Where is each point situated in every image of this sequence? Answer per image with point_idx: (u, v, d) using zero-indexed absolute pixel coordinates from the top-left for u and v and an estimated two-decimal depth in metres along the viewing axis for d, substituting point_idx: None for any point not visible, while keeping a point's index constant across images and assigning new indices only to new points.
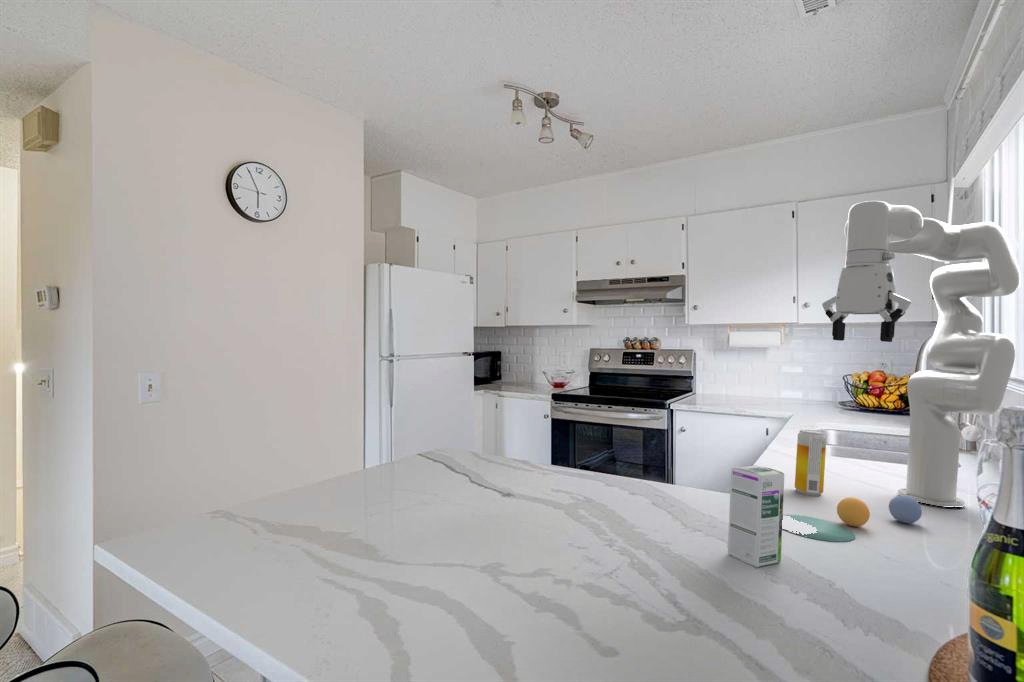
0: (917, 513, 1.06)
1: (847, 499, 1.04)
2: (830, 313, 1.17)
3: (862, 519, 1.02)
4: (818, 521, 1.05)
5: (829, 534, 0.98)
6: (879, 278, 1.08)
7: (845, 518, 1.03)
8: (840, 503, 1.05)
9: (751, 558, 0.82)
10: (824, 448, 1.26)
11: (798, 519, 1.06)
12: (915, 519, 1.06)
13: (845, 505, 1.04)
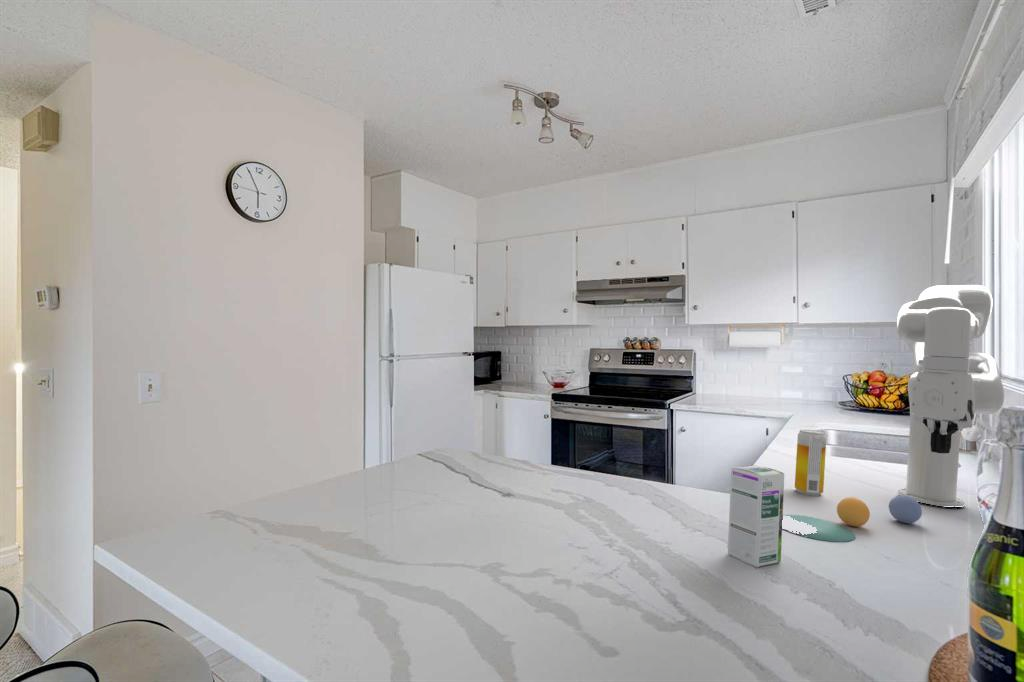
0: (917, 513, 1.06)
1: (847, 499, 1.04)
2: None
3: (862, 519, 1.02)
4: (818, 521, 1.05)
5: (829, 534, 0.98)
6: None
7: (845, 518, 1.03)
8: (840, 503, 1.05)
9: (751, 558, 0.82)
10: (824, 448, 1.26)
11: (798, 519, 1.06)
12: (915, 519, 1.06)
13: (845, 505, 1.04)
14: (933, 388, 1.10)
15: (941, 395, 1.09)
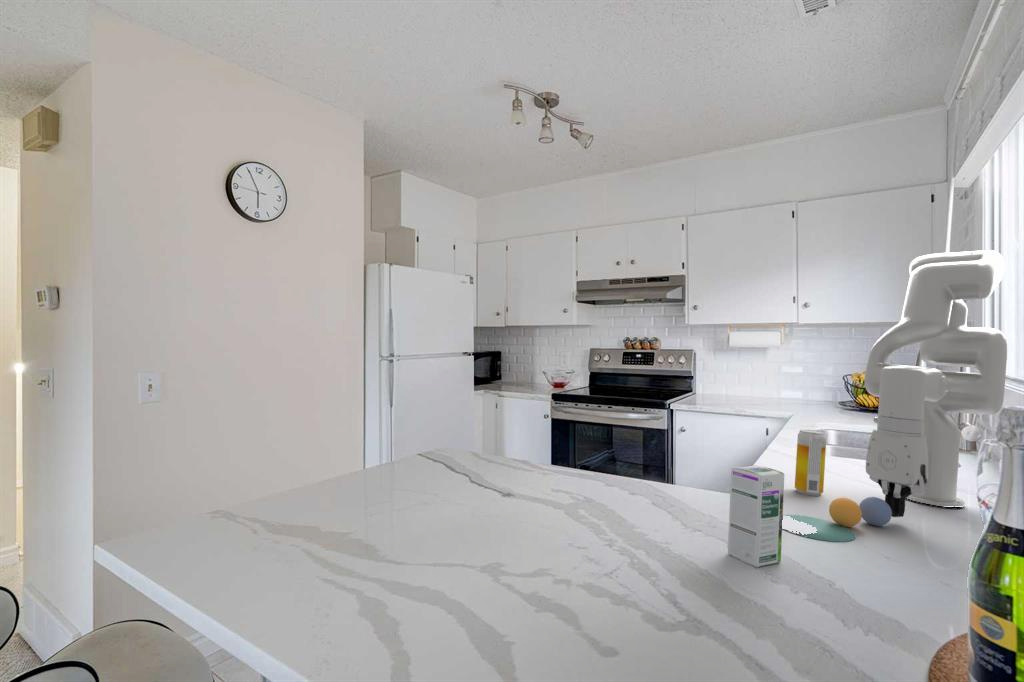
0: (889, 517, 1.03)
1: (834, 507, 1.03)
2: None
3: (857, 521, 1.01)
4: (818, 521, 1.05)
5: (829, 534, 0.98)
6: None
7: (842, 525, 1.03)
8: (830, 512, 1.04)
9: (751, 558, 0.82)
10: (824, 448, 1.26)
11: (798, 519, 1.06)
12: (889, 509, 1.04)
13: (835, 515, 1.03)
14: (887, 450, 1.07)
15: (894, 457, 1.05)
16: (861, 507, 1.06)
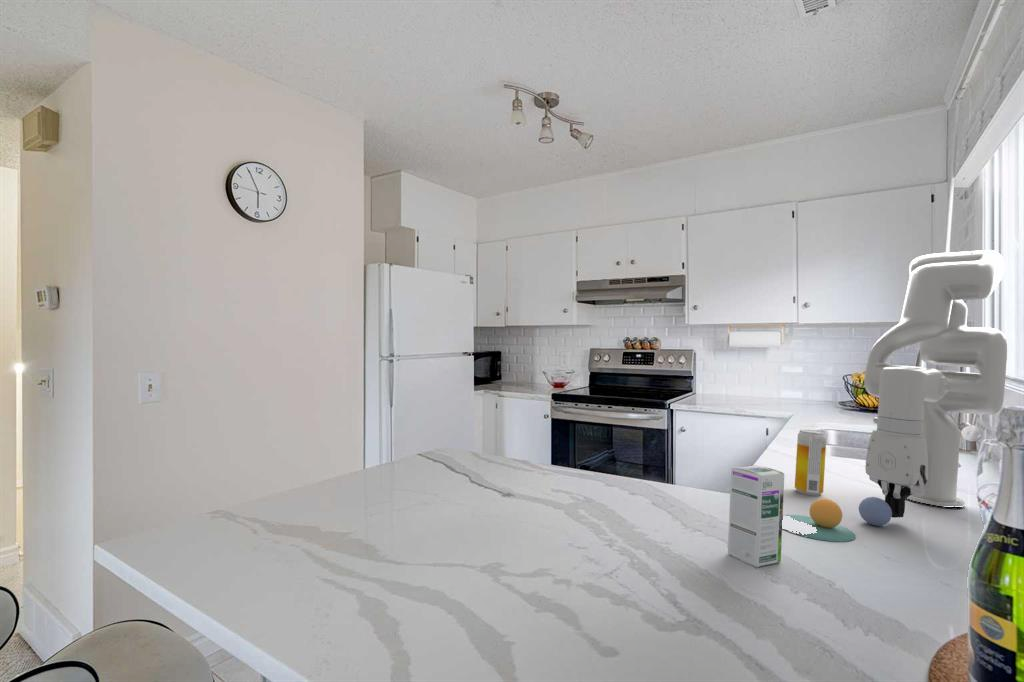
0: (889, 517, 1.03)
1: None
2: None
3: (841, 516, 1.00)
4: None
5: (829, 534, 0.98)
6: None
7: None
8: None
9: (751, 558, 0.82)
10: (824, 448, 1.26)
11: (798, 519, 1.06)
12: (889, 509, 1.04)
13: None
14: (886, 450, 1.07)
15: (894, 458, 1.05)
16: (861, 507, 1.06)
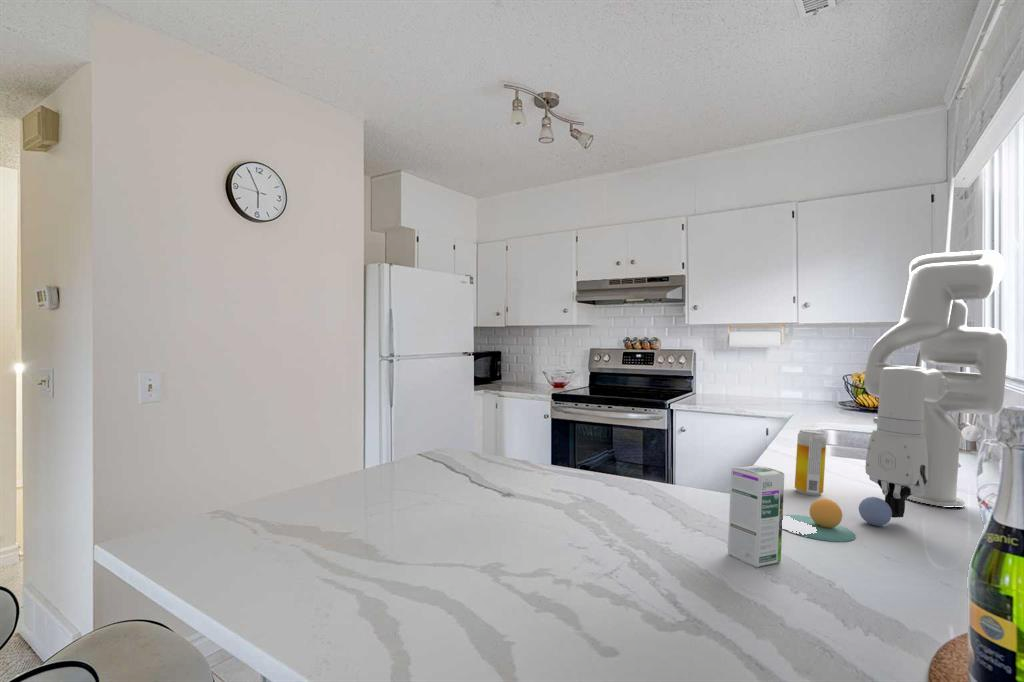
0: (889, 517, 1.03)
1: None
2: None
3: (840, 516, 1.00)
4: None
5: (829, 534, 0.98)
6: None
7: None
8: None
9: (751, 558, 0.82)
10: (824, 448, 1.26)
11: (798, 519, 1.06)
12: (889, 509, 1.04)
13: None
14: (886, 450, 1.07)
15: (894, 458, 1.05)
16: (861, 507, 1.06)
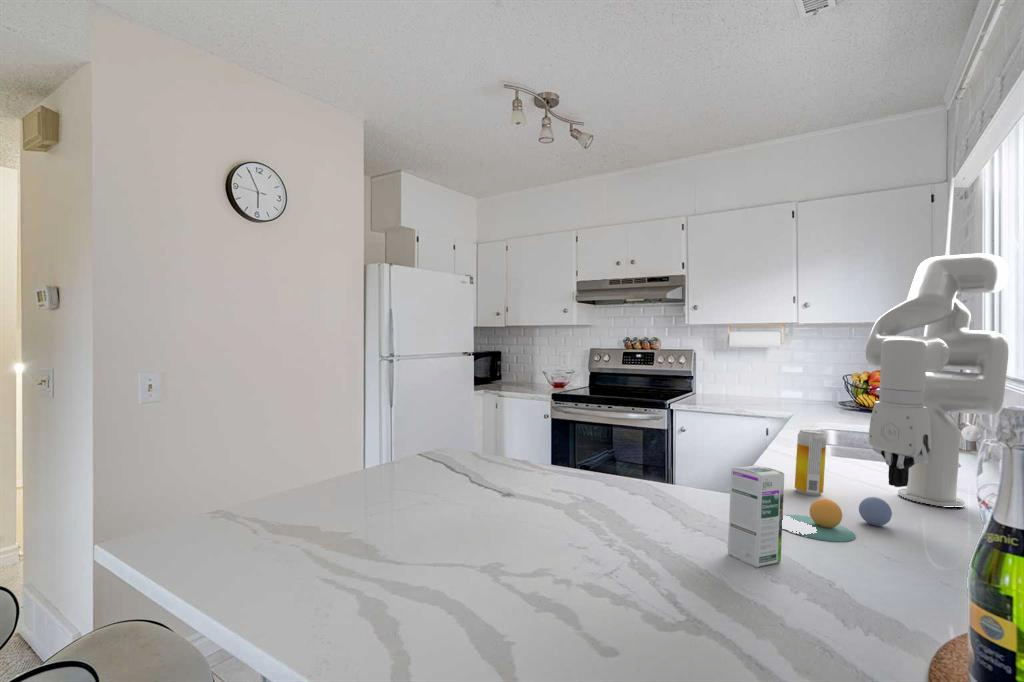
0: (889, 517, 1.03)
1: None
2: None
3: (840, 516, 1.00)
4: None
5: (829, 534, 0.98)
6: None
7: None
8: None
9: (751, 558, 0.82)
10: (824, 448, 1.26)
11: (798, 519, 1.06)
12: (889, 509, 1.04)
13: None
14: (889, 422, 1.07)
15: (897, 429, 1.06)
16: (861, 507, 1.06)
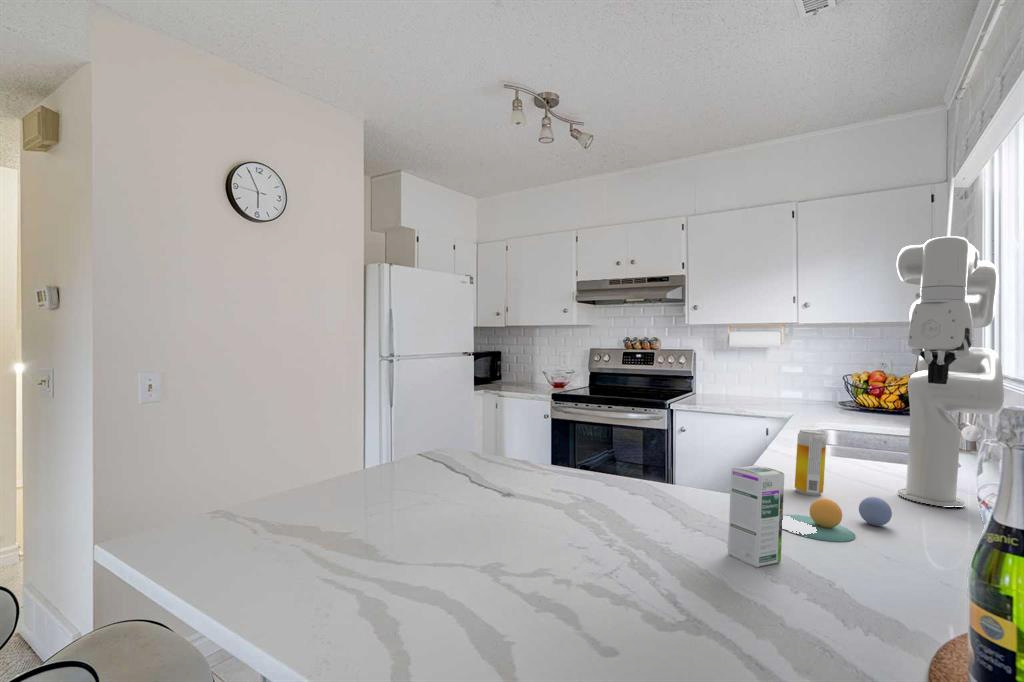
0: (889, 517, 1.03)
1: None
2: None
3: (840, 516, 1.00)
4: None
5: (829, 534, 0.98)
6: None
7: None
8: None
9: (751, 558, 0.82)
10: (824, 448, 1.26)
11: (798, 519, 1.06)
12: (889, 509, 1.04)
13: None
14: (930, 319, 1.10)
15: (938, 324, 1.08)
16: (861, 507, 1.06)
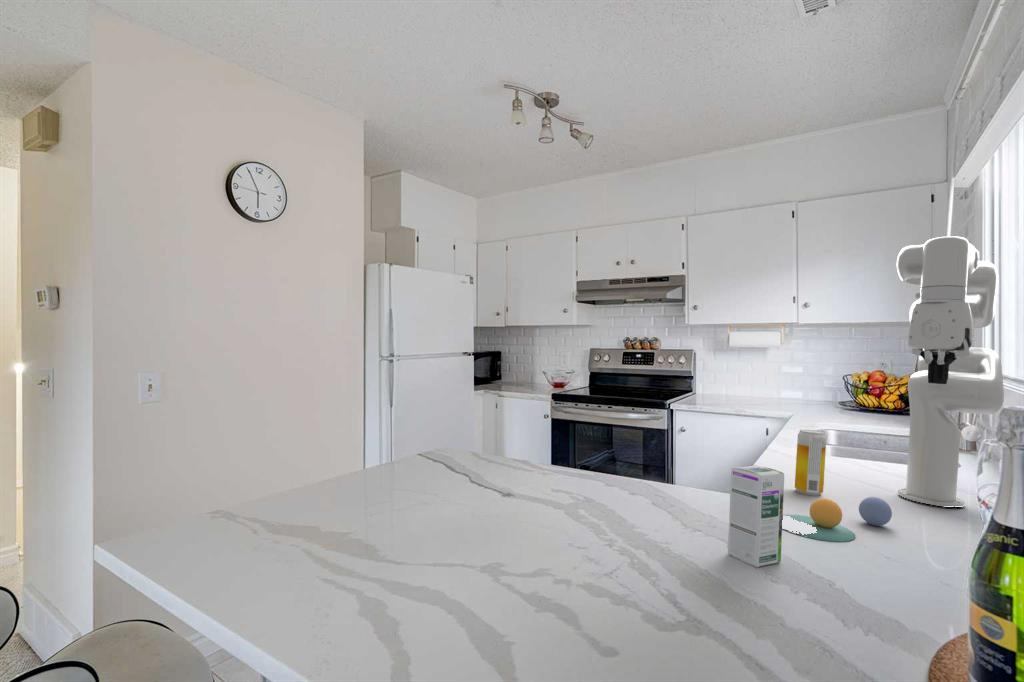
0: (889, 517, 1.03)
1: None
2: None
3: (840, 516, 1.00)
4: None
5: (829, 534, 0.98)
6: None
7: None
8: None
9: (751, 558, 0.82)
10: (824, 448, 1.26)
11: (798, 519, 1.06)
12: (889, 509, 1.04)
13: None
14: (930, 319, 1.10)
15: (938, 324, 1.08)
16: (861, 507, 1.06)
